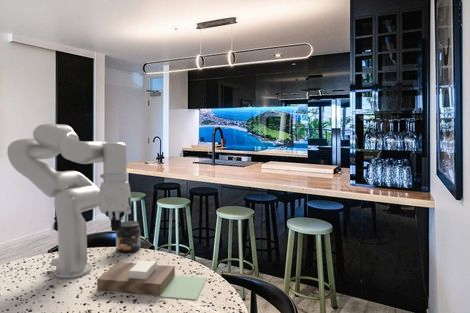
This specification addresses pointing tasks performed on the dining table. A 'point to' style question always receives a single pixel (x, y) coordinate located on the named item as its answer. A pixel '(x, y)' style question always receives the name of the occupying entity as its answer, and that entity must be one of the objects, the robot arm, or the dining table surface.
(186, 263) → the dining table surface
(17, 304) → the dining table surface
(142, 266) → the white rectangular block
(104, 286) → the deck
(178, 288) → the mat
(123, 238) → the supplement container
